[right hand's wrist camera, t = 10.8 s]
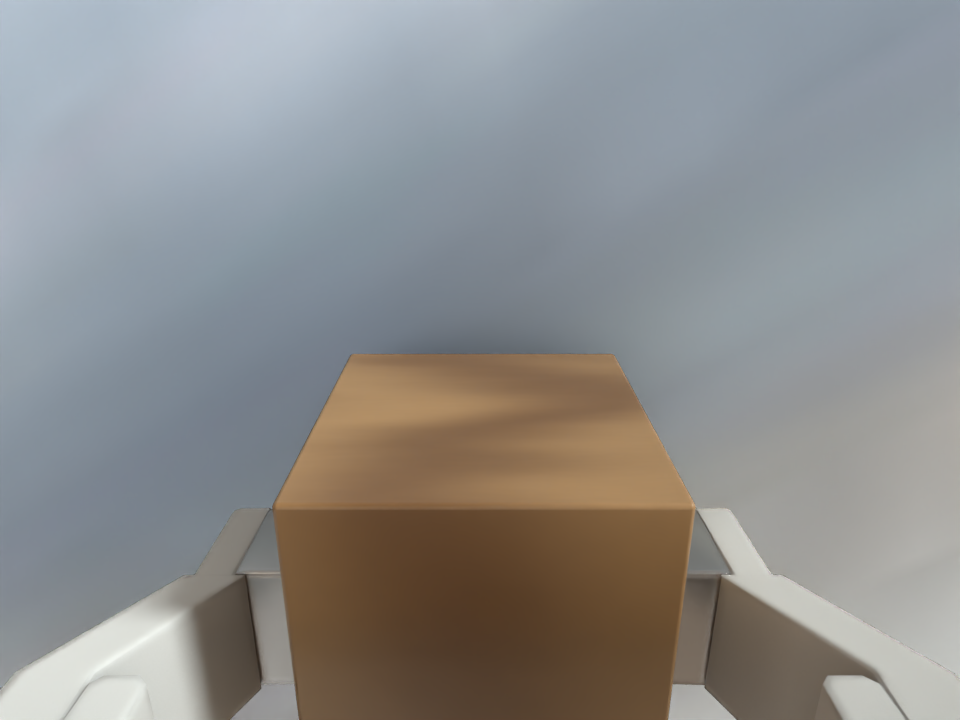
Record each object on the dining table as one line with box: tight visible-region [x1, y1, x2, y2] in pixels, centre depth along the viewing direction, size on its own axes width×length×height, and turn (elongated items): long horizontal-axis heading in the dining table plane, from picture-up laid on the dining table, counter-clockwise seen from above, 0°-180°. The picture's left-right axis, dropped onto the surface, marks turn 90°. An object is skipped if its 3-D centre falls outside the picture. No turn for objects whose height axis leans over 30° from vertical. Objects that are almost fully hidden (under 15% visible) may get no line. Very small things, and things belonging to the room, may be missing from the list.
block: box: [272, 354, 696, 720], centre depth 10 cm, size 4×5×4 cm
